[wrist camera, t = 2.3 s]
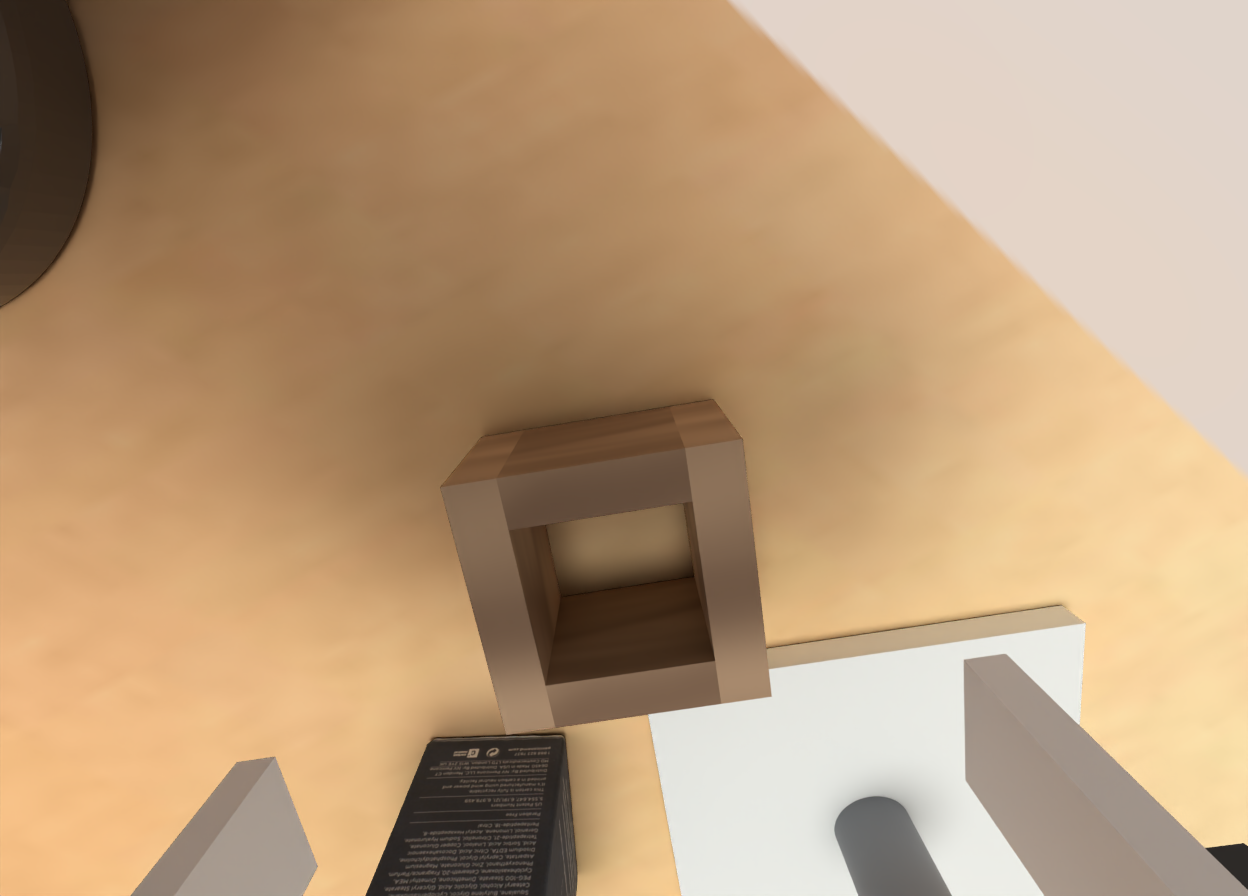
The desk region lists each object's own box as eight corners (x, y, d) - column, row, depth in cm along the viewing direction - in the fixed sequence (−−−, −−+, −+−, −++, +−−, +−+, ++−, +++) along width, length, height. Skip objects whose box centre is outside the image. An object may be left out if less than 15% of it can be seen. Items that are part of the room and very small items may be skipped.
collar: (481, 436, 21) (439, 487, 16) (713, 399, 20) (742, 439, 16) (529, 637, 23) (506, 735, 18) (739, 606, 23) (771, 696, 18)
